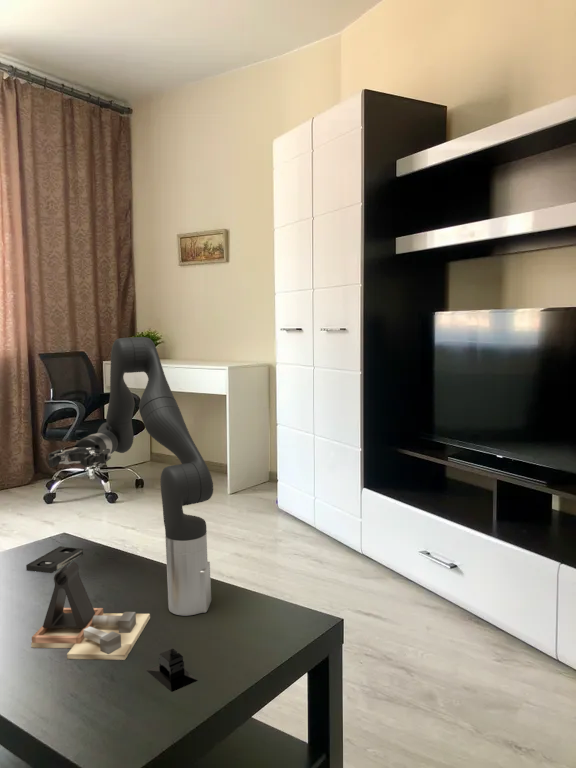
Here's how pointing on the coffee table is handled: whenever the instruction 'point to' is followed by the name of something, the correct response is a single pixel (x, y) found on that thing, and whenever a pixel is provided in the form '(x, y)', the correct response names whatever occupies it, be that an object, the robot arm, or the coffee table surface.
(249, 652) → the coffee table surface
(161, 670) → the black slotted box
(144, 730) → the coffee table surface
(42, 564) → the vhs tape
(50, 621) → the phone stand
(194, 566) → the robot arm
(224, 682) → the coffee table surface
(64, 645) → the stand
